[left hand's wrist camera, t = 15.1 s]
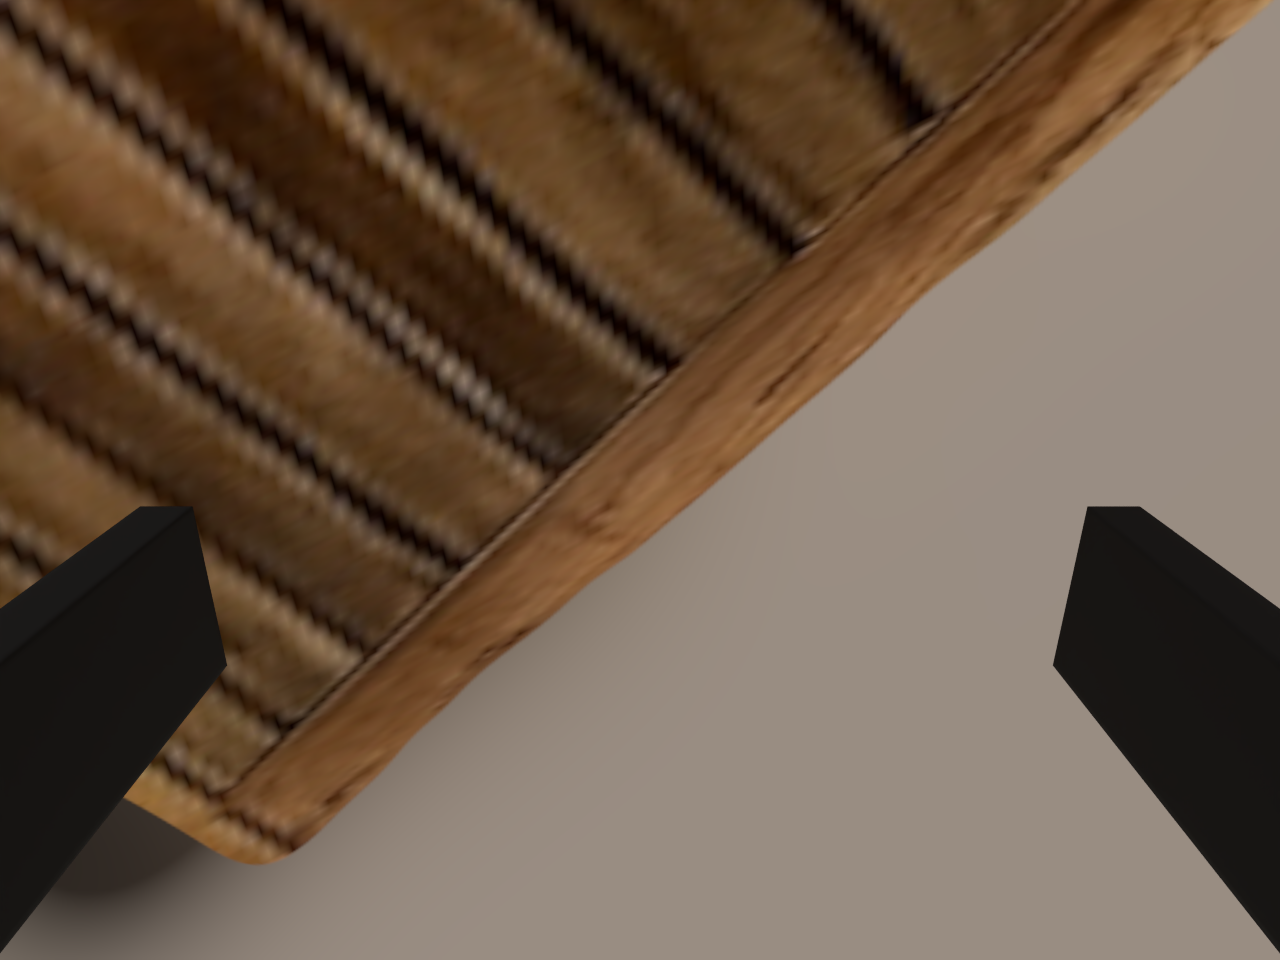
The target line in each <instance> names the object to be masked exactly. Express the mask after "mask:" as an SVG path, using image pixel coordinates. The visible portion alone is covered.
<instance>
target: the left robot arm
mask: <svg viewBox="0 0 1280 960" xmlns="http://www.w3.org/2000/svg"><path fill="white" fill-rule="evenodd" d="M226 666H227V663H226V658H225V654H224V649H223V644H222V640H221V635H220V631H219V626H218V621H217V617H216V612H215V608H214V603H213V599H212V594H211V589H210V585H209V580H208V576H207V571H206V566H205V562H204V557H203V553H202V548H201V544H200V539H199V534H198V530H197V525H196V521H195V516H194V511H193V507H139V508H138V509H136V510H135V511H133V512H132V513H131V514H129V515H128V516H127V517H125V518H124V519H122V520H121V521H120V522H118V523H117V524H116V525H114V526H113V527H111V528H110V529H109V530H107V531H106V532H105V533H103V534H102V535H101V536H99V537H98V538H96V539H95V540H94V541H92V542H91V543H90V544H88V545H87V546H85V547H84V548H83V549H81V550H80V551H79V552H77V553H76V554H75V555H73V556H72V557H70V558H69V559H68V560H66V561H65V562H64V563H62V564H61V565H59V566H58V567H57V568H55V569H54V570H53V571H51V572H50V573H48V574H47V575H46V576H44V577H43V578H42V579H40V580H39V581H38V582H36V583H35V584H33V585H32V586H31V587H29V588H28V589H27V590H25V591H24V592H22V593H21V594H20V595H18V596H17V597H16V598H14V599H13V600H12V601H10V602H9V603H7V604H6V605H5V606H3V607H2V608H1V609H0V953H1V951H2V950H3V949H4V948H5V946H6V945H7V944H8V943H9V941H10V940H11V939H12V938H13V936H14V935H15V934H16V932H17V931H18V930H19V929H20V927H21V926H22V925H23V924H24V922H25V921H26V920H27V918H28V917H29V916H30V915H31V913H32V912H33V911H34V910H35V908H36V907H37V906H38V905H39V903H40V902H41V901H42V899H43V898H44V897H45V896H46V894H47V893H48V892H49V891H50V889H51V888H52V887H53V885H54V884H55V883H56V882H57V880H58V879H59V878H60V877H61V875H62V874H63V873H64V872H65V870H66V869H67V868H68V866H69V865H70V864H71V863H72V861H73V860H74V859H75V858H76V856H77V855H78V854H79V853H80V851H81V850H82V849H83V847H84V846H85V845H86V844H87V842H88V841H89V840H90V839H91V837H92V836H93V835H94V833H95V832H96V831H97V830H98V828H99V827H100V826H101V825H102V823H103V822H104V821H105V819H106V818H107V817H108V816H109V814H110V813H111V812H112V811H113V809H114V808H115V807H116V806H117V804H118V803H119V802H120V801H121V799H122V798H123V797H124V795H125V794H126V793H127V792H128V790H129V789H130V788H131V787H132V785H133V784H134V783H135V782H136V780H137V779H138V778H139V776H140V775H141V774H142V773H143V771H144V770H145V769H146V768H147V766H148V765H149V764H150V762H151V761H152V760H153V759H154V757H155V756H156V755H157V754H158V752H159V751H160V750H161V749H162V747H163V746H164V745H165V743H166V742H167V741H168V740H169V738H170V737H171V736H172V735H173V733H174V732H175V731H176V730H177V728H178V727H179V726H180V724H181V723H182V722H183V721H184V719H185V718H186V717H187V716H188V714H189V713H190V712H191V710H192V709H193V708H194V707H195V705H196V704H197V703H198V702H199V700H200V699H201V698H202V697H203V695H204V694H205V693H206V691H207V690H208V689H209V688H210V686H211V685H212V684H213V683H214V681H215V680H216V679H217V677H218V676H219V675H220V674H221V672H222V671H223V670H224V669H225V667H226ZM1053 666H1054V667H1055V669H1056V670H1057V671H1058V672H1059V674H1060V675H1061V676H1062V677H1063V679H1064V680H1065V681H1066V683H1067V684H1068V685H1069V686H1070V688H1071V689H1072V690H1073V691H1074V693H1075V694H1076V695H1077V696H1078V698H1079V699H1080V700H1081V702H1082V703H1083V704H1084V705H1085V707H1086V708H1087V709H1088V710H1089V712H1090V713H1091V714H1092V716H1093V717H1094V718H1095V719H1096V721H1097V722H1098V723H1099V724H1100V726H1101V727H1102V728H1103V729H1104V731H1105V732H1106V733H1107V735H1108V736H1109V737H1110V738H1111V740H1112V741H1113V742H1114V743H1115V745H1116V746H1117V747H1118V749H1119V750H1120V751H1121V752H1122V754H1123V755H1124V756H1125V757H1126V759H1127V760H1128V761H1129V762H1130V764H1131V765H1132V766H1133V768H1134V769H1135V770H1136V771H1137V773H1138V774H1139V775H1140V776H1141V778H1142V779H1143V780H1144V782H1145V783H1146V784H1147V785H1148V787H1149V788H1150V789H1151V790H1152V792H1153V793H1154V794H1155V795H1156V797H1157V798H1158V799H1159V801H1160V802H1161V803H1162V804H1163V806H1164V807H1165V808H1166V809H1167V811H1168V812H1169V813H1170V814H1171V816H1172V817H1173V818H1174V820H1175V821H1176V822H1177V823H1178V825H1179V826H1180V827H1181V828H1182V830H1183V831H1184V832H1185V833H1186V835H1187V836H1188V837H1189V839H1190V840H1191V841H1192V842H1193V844H1194V845H1195V846H1196V847H1197V849H1198V850H1199V851H1200V853H1201V854H1202V855H1203V856H1204V858H1205V859H1206V860H1207V861H1208V863H1209V864H1210V865H1211V866H1212V868H1213V869H1214V870H1215V872H1216V873H1217V874H1218V875H1219V877H1220V878H1221V879H1222V880H1223V882H1224V883H1225V884H1226V885H1227V887H1228V888H1229V889H1230V891H1231V892H1232V893H1233V894H1234V896H1235V897H1236V898H1237V899H1238V901H1239V902H1240V903H1241V904H1242V906H1243V907H1244V908H1245V910H1246V911H1247V912H1248V913H1249V915H1250V916H1251V917H1252V919H1253V920H1254V921H1255V922H1256V924H1257V925H1258V926H1259V927H1260V929H1261V930H1262V931H1263V932H1264V934H1265V935H1266V936H1267V938H1268V939H1269V940H1270V941H1271V943H1272V944H1273V945H1274V946H1275V948H1276V949H1277V950H1278V951H1279V953H1280V609H1279V608H1278V607H1277V606H1275V605H1274V604H1273V603H1271V602H1270V601H1268V600H1267V599H1266V598H1264V597H1263V596H1262V595H1260V594H1259V593H1258V592H1256V591H1255V590H1253V589H1252V588H1251V587H1249V586H1248V585H1247V584H1245V583H1244V582H1242V581H1241V580H1240V579H1238V578H1237V577H1236V576H1234V575H1233V574H1231V573H1230V572H1229V571H1227V570H1226V569H1225V568H1223V567H1222V566H1221V565H1219V564H1218V563H1216V562H1215V561H1214V560H1212V559H1211V558H1210V557H1208V556H1207V555H1205V554H1204V553H1203V552H1201V551H1200V550H1199V549H1197V548H1196V547H1194V546H1193V545H1192V544H1190V543H1189V542H1188V541H1186V540H1185V539H1184V538H1182V537H1181V536H1179V535H1178V534H1177V533H1175V532H1174V531H1173V530H1171V529H1170V528H1169V527H1167V526H1166V525H1164V524H1163V523H1162V522H1160V521H1159V520H1157V519H1156V518H1155V517H1153V516H1152V515H1151V514H1149V513H1148V512H1147V511H1145V510H1144V509H1142V508H1141V507H1087V511H1086V516H1085V521H1084V525H1083V530H1082V534H1081V539H1080V544H1079V548H1078V553H1077V557H1076V562H1075V567H1074V571H1073V576H1072V580H1071V585H1070V590H1069V594H1068V599H1067V603H1066V608H1065V612H1064V617H1063V621H1062V626H1061V631H1060V635H1059V640H1058V645H1057V649H1056V654H1055V658H1054V663H1053Z"/></svg>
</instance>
